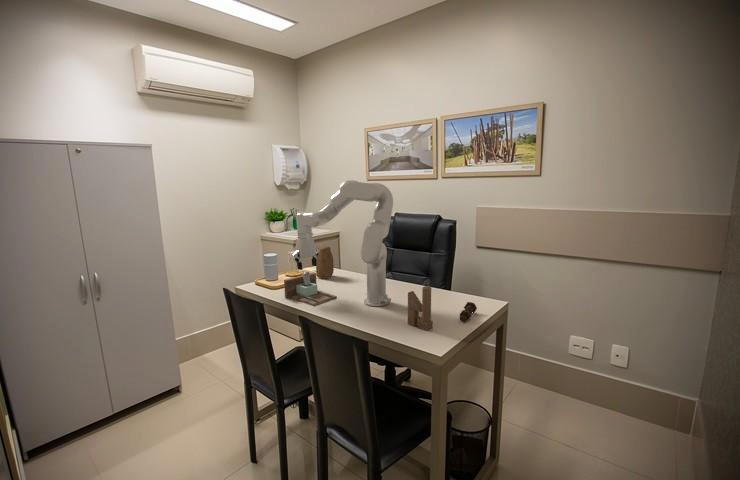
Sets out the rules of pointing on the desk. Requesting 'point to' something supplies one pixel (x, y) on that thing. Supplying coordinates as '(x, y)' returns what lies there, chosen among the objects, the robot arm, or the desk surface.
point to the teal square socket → (307, 289)
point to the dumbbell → (467, 311)
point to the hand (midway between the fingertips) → (307, 267)
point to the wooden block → (420, 309)
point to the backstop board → (311, 300)
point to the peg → (306, 279)
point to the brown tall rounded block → (324, 263)
